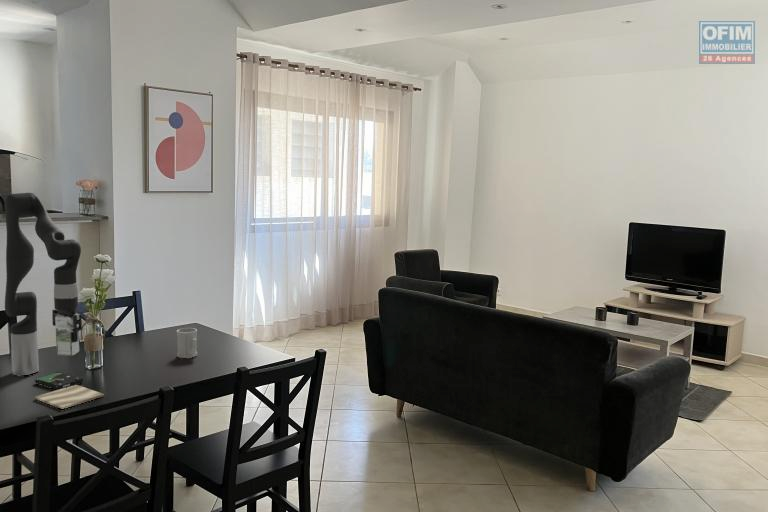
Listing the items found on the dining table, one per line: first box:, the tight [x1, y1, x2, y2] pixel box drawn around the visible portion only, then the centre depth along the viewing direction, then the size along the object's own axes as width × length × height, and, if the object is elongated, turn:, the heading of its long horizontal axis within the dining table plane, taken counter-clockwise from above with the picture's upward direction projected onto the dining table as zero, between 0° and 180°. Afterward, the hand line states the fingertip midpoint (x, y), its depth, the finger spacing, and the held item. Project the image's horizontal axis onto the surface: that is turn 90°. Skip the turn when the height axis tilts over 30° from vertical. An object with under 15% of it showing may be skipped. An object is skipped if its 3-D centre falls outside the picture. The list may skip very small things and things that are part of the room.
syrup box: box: [55, 312, 80, 357], centre depth 223 cm, size 6×6×14 cm
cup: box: [176, 327, 198, 359], centre depth 280 cm, size 10×9×12 cm
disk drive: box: [34, 371, 84, 390], centre depth 241 cm, size 10×3×15 cm
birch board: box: [34, 385, 105, 409], centre depth 226 cm, size 17×16×1 cm
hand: (67, 339), depth 223 cm, fingers closed on syrup box, 8 cm apart
